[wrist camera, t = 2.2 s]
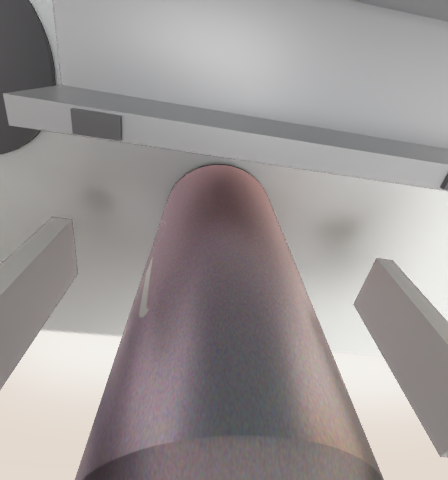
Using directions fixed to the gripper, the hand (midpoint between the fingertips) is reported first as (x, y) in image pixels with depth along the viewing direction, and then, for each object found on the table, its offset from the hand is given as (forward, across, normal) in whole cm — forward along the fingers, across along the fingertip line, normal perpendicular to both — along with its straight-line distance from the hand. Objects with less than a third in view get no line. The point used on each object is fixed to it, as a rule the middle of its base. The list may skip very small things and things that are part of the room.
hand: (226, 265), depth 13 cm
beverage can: (+6, 0, 0) cm, 6 cm away
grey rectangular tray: (+5, +2, +8) cm, 10 cm away
